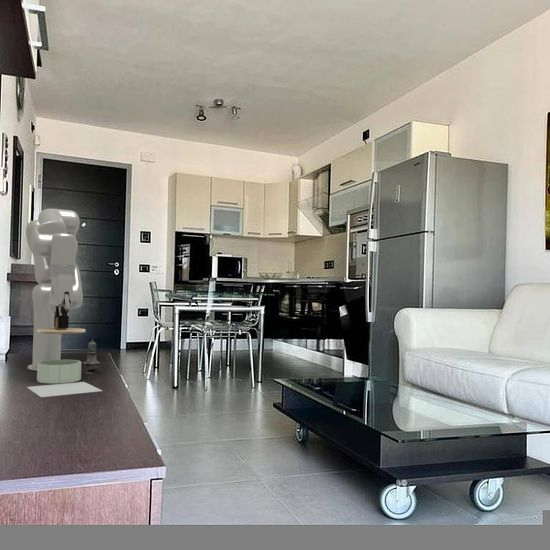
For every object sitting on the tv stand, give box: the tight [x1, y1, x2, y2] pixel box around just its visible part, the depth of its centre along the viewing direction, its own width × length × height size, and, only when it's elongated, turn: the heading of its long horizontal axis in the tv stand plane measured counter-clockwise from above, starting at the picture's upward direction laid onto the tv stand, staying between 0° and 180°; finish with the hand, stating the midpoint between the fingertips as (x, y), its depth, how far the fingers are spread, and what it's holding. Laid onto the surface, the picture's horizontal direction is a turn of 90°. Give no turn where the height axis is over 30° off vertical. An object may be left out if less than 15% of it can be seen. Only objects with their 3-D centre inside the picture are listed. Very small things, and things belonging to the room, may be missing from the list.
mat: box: [26, 381, 103, 398], centre depth 154 cm, size 17×17×1 cm
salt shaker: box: [82, 339, 101, 375], centre depth 186 cm, size 6×6×12 cm
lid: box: [36, 317, 87, 335], centre depth 169 cm, size 15×15×5 cm
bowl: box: [36, 359, 82, 384], centre depth 169 cm, size 13×13×6 cm
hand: (61, 327), depth 169 cm, fingers closed on lid, 3 cm apart
